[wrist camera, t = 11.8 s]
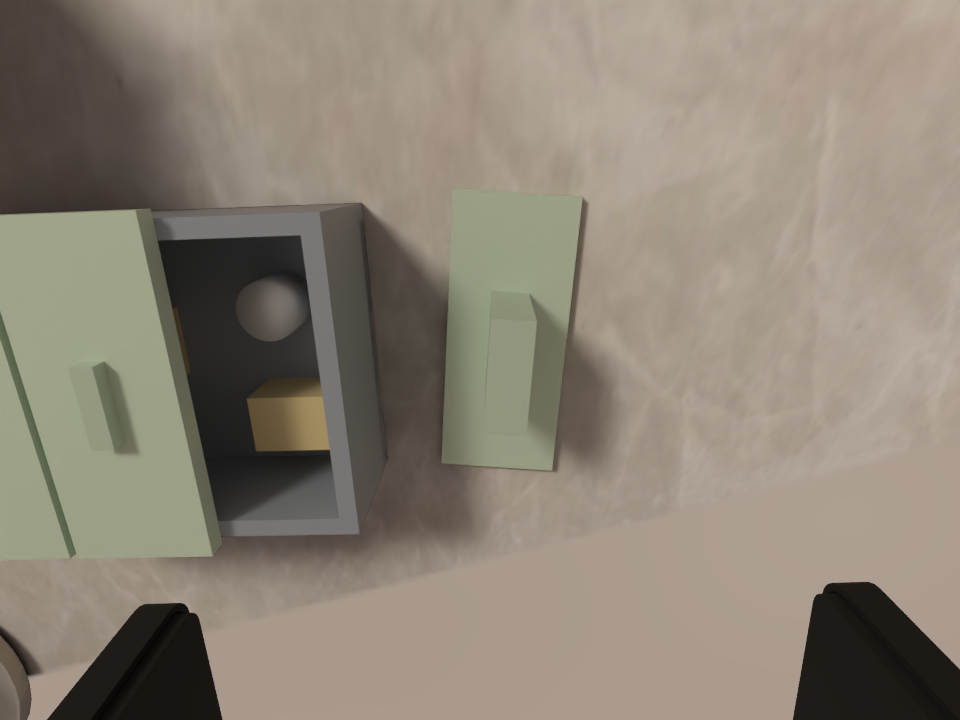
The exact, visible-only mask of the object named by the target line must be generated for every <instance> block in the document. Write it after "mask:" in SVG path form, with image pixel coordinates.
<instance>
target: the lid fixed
mask: <svg viewBox="0 0 960 720" xmlns="http://www.w3.org/2000/svg"><path fill="white" fill-rule="evenodd" d="M221 545H222V538H221V534H220V529H219V524H218V520H217V515H216V510H215V506H214V501H213V496H212V492H211V487H210V482H209V478H208V473H207V468H206V464H205V459H204V454H203V450H202V445H201V440H200V436H199V431H198V427H197V422H196V417H195V413H194V408H193V403H192V399H191V394H190V389H189V385H188V380H187V375H186V371H185V366H184V361H183V357H182V352H181V347H180V343H179V338H178V334H177V329H176V324H175V320H174V315H173V310H172V306H171V301H170V296H169V292H168V287H167V282H166V278H165V273H164V268H163V264H162V259H161V254H160V250H159V245H158V241H157V236H156V231H155V227H154V222H153V217H152V213H151V209H130V210H104V211H78V212H52V213H27V214H1V215H0V560H35V559H71V558H72V557H73V556H74V555H75V554H77V557H78V559H95V558H154V557H213V556H214V554H215V553H216V551H217V550H218V549H219V547H220V546H221Z"/></svg>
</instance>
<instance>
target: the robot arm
mask: <svg viewBox="0 0 960 720" xmlns="http://www.w3.org/2000/svg"><path fill="white" fill-rule="evenodd" d="M30 707H31V691H30V684H29V680H28V677H27V675H26V672H25V669H24V667H23V665H22V663H21V661H20V660H19V658H18V657H17V655H16V653H15V652H14V650H13V649H12V648H11V647H10V645H9V644H8V643H7V642H6V641H5V640H4V639H3V637H2V636H1V635H0V720H27V718H28V716H29V714H30ZM47 720H222V716H221V711H220V707H219V703H218V699H217V694H216V690H215V686H214V681H213V677H212V673H211V668H210V664H209V660H208V655H207V651H206V647H205V643H204V638H203V634H202V630H201V625H200V621H199V618H198V616H197V615H196V614H195V613H189V610H188V608H187V606H186V605H185V604H182V603H168V604H144V605H142V606H140V607H139V608H138V609H137V610H136V611H134V613H133V614H132V615H131V616H130V618H129V619H128V620H127V621H126V623H125V624H124V625H123V626H122V627H121V629H120V630H119V631H118V632H117V634H116V635H115V636H114V637H113V639H112V640H111V641H110V642H109V644H108V645H107V646H106V647H105V649H104V650H103V651H102V652H101V653H100V655H99V656H98V657H97V658H96V660H95V661H94V662H93V663H92V665H91V666H90V667H89V668H88V670H87V671H86V672H85V673H84V675H83V676H82V677H81V678H80V680H79V681H78V682H77V683H76V684H75V686H74V687H73V688H72V690H71V691H70V692H69V693H68V694H67V696H66V697H65V698H64V699H63V701H62V702H61V703H60V704H59V706H58V707H57V708H56V709H55V711H54V712H53V713H52V714H51V715H50V717H49V718H48V719H47ZM793 720H960V669H959V668H958V667H957V666H956V665H955V664H954V663H953V662H951V660H950V659H949V658H948V657H947V656H946V655H945V654H944V653H943V652H942V651H941V650H940V649H939V648H938V647H937V646H936V645H935V644H934V643H933V642H932V641H931V640H930V639H929V638H928V637H927V636H926V635H925V634H924V633H923V632H922V631H921V630H920V629H919V628H918V627H917V626H916V625H915V624H914V623H913V622H912V621H911V620H910V619H909V618H908V617H907V615H906V614H905V613H904V612H903V611H902V610H901V609H900V608H898V606H897V605H896V604H895V603H894V602H893V601H892V600H891V599H890V598H889V597H888V596H887V595H886V594H885V593H884V592H883V591H882V590H881V589H880V588H879V587H877V586H876V585H875V584H873V583H870V582H850V583H830V584H828V585H826V587H825V588H824V591H823V593H822V594H817V595H816V596H815V598H814V601H813V606H812V612H811V618H810V623H809V629H808V635H807V641H806V647H805V652H804V658H803V664H802V670H801V676H800V682H799V687H798V693H797V699H796V705H795V711H794V717H793Z"/></svg>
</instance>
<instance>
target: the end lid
mask: <svg viewBox="0 0 960 720" xmlns="http://www.w3.org/2000/svg"><path fill="white" fill-rule="evenodd" d="M582 199H583V197H582V196H567V195H551V194H535V193H519V192H503V191H487V190H471V189H455V188H453V200H452V224H451V247H450V271H449V295H448V319H447V342H446V366H445V390H444V413H443V437H442V461H441V463H442V464H457V465H473V466H488V467H503V468H519V469H534V470H549V471H552V466H553V458H554V449H555V440H556V431H557V422H558V413H559V404H560V395H561V386H562V377H563V368H564V359H565V351H566V342H567V333H568V324H569V315H570V306H571V297H572V288H573V279H574V270H575V261H576V252H577V243H578V235H579V226H580V217H581V208H582Z"/></svg>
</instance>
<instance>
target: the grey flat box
mask: <svg viewBox="0 0 960 720" xmlns="http://www.w3.org/2000/svg"><path fill="white" fill-rule="evenodd" d="M151 213H152V217H153V222H154V227H155V231H156V236H157V241H158V245H159V250H160V254H161V259H162V264H163V268H164V273H165V278H166V282H167V287H168V292H169V296H170V301H171V306H172V310H173V315H174V320H175V324H176V329H177V334H178V338H179V343H180V347H181V352H182V357H183V361H184V366H185V371H186V375H187V380H188V385H189V389H190V394H191V399H192V403H193V408H194V413H195V417H196V422H197V427H198V431H199V436H200V440H201V445H202V450H203V454H204V459H205V464H206V468H207V473H208V478H209V482H210V487H211V492H212V496H213V501H214V506H215V510H216V515H217V520H218V524H219V529H220V534H221V537H230V536H285V535H341V534H360V531H361V528H362V526H363V523H364V520H365V518H366V515H367V512H368V510H369V507H370V504H371V502H372V499H373V496H374V494H375V491H376V488H377V486H378V483H379V480H380V478H381V475H382V472H383V470H384V467H385V464H386V462H387V449H386V439H385V429H384V419H383V409H382V399H381V389H380V379H379V369H378V359H377V349H376V339H375V330H374V320H373V310H372V300H371V290H370V280H369V270H368V260H367V250H366V240H365V230H364V220H363V210H362V203H344V204H318V205H292V206H267V207H241V208H215V209H189V210H163V211H151Z"/></svg>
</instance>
